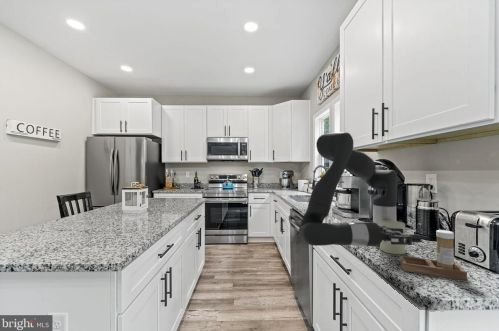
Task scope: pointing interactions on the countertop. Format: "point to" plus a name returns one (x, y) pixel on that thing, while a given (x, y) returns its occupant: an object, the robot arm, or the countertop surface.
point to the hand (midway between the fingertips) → (411, 234)
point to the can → (387, 245)
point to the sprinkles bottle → (445, 249)
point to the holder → (431, 268)
